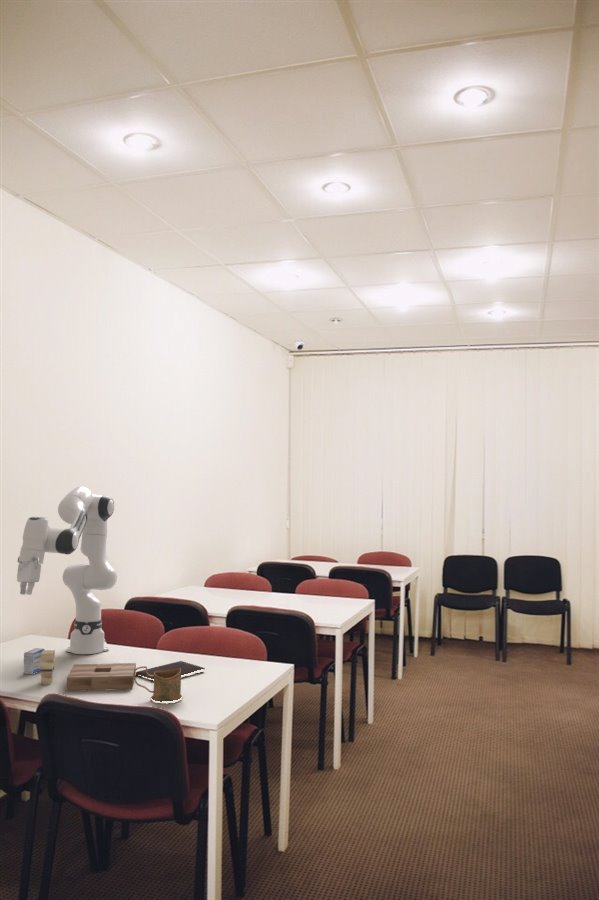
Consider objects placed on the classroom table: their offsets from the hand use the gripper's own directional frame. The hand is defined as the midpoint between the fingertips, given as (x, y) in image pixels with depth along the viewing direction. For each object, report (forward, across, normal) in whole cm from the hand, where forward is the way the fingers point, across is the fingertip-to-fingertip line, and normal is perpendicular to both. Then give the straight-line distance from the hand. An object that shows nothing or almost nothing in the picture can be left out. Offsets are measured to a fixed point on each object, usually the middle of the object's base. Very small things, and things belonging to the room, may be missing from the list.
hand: (25, 594), depth 263 cm
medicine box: (+30, +22, -13) cm, 40 cm away
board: (+31, -6, -32) cm, 45 cm away
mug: (+34, -35, -44) cm, 65 cm away
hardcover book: (+28, -8, -60) cm, 67 cm away
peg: (+32, +5, -14) cm, 36 cm away
